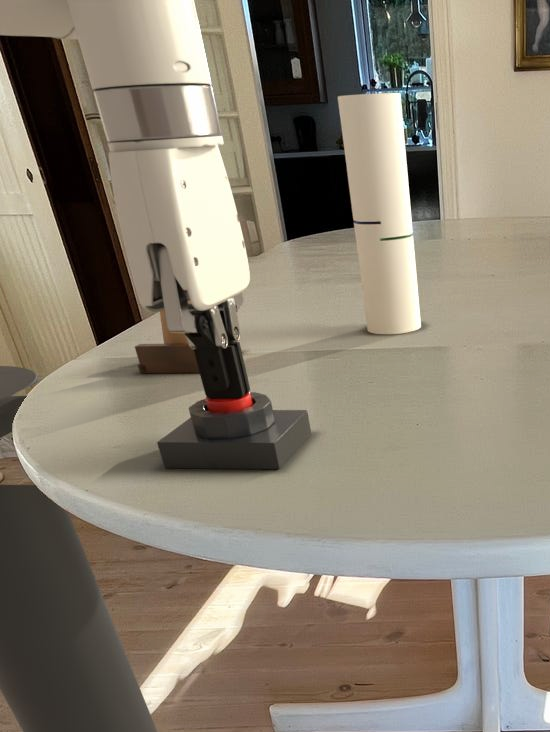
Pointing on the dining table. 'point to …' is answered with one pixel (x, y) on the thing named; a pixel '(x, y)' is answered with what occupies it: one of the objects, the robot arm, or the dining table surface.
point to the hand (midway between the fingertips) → (228, 395)
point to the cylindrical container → (381, 210)
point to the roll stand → (166, 358)
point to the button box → (236, 437)
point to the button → (228, 404)
